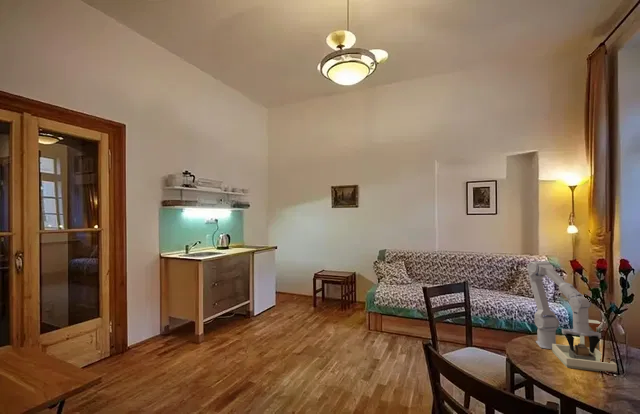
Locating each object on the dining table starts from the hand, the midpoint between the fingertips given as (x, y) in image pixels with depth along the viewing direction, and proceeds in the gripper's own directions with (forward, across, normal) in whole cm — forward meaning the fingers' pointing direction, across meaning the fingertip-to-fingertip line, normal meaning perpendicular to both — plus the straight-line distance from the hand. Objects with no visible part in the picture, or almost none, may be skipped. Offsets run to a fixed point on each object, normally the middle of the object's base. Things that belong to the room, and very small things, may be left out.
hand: (581, 351), depth 148 cm
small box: (+5, +13, +24) cm, 28 cm away
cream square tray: (+5, 0, 0) cm, 5 cm away
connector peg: (+4, 0, 0) cm, 4 cm away
